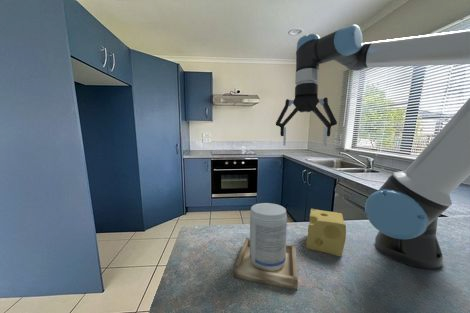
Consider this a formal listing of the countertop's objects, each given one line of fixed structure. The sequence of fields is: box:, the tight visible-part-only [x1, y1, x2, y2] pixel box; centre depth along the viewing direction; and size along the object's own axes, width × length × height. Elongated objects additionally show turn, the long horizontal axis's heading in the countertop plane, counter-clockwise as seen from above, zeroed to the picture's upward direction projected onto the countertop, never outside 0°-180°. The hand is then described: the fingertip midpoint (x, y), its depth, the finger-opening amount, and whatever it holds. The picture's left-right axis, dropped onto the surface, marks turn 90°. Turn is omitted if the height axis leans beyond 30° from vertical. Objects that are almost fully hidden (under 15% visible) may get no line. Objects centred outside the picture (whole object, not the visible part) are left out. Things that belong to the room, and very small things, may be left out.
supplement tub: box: [249, 202, 288, 271], centre depth 52 cm, size 10×10×15 cm
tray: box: [233, 237, 299, 291], centre depth 52 cm, size 15×15×2 cm
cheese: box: [305, 208, 347, 257], centre depth 62 cm, size 10×11×10 cm
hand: (303, 145), depth 69 cm, fingers open, 13 cm apart
